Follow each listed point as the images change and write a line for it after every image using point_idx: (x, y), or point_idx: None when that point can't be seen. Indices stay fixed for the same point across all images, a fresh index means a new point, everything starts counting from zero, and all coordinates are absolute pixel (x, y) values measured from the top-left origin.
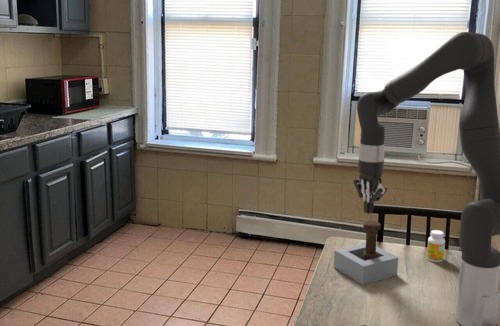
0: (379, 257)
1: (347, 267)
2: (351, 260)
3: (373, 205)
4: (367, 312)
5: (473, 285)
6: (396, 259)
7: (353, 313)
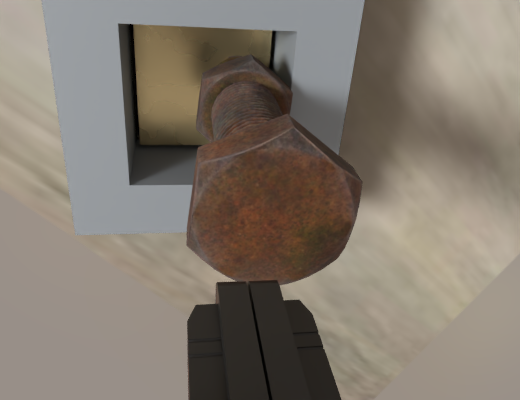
0: (298, 80)
1: None
2: None
3: (329, 371)
4: (440, 278)
5: None
6: None
7: (414, 312)
